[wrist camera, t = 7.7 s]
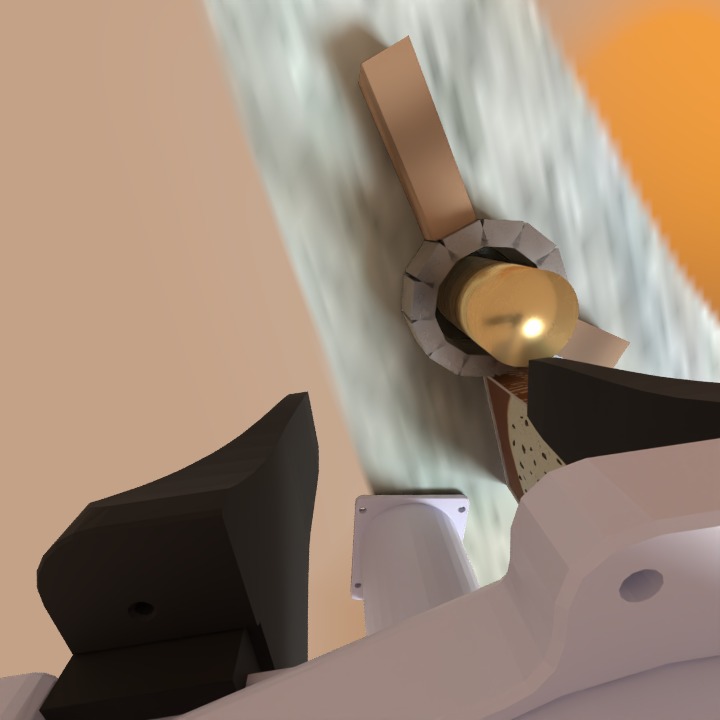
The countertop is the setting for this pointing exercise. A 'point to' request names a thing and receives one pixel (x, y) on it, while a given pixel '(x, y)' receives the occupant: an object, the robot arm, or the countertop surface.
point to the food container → (518, 433)
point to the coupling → (452, 218)
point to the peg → (509, 308)
